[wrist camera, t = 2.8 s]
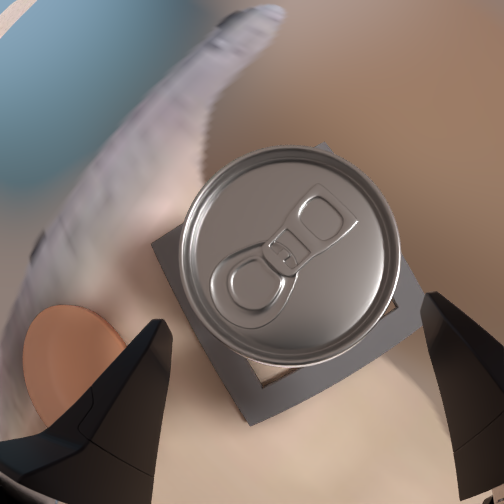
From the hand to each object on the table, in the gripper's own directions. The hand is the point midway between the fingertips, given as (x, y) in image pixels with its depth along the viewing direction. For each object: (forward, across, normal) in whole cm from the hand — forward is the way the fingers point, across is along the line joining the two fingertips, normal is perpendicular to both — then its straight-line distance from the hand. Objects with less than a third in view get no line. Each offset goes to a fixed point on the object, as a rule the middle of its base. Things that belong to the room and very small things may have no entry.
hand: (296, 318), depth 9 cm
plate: (+3, +18, +10) cm, 21 cm away
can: (+8, 0, +6) cm, 10 cm away
